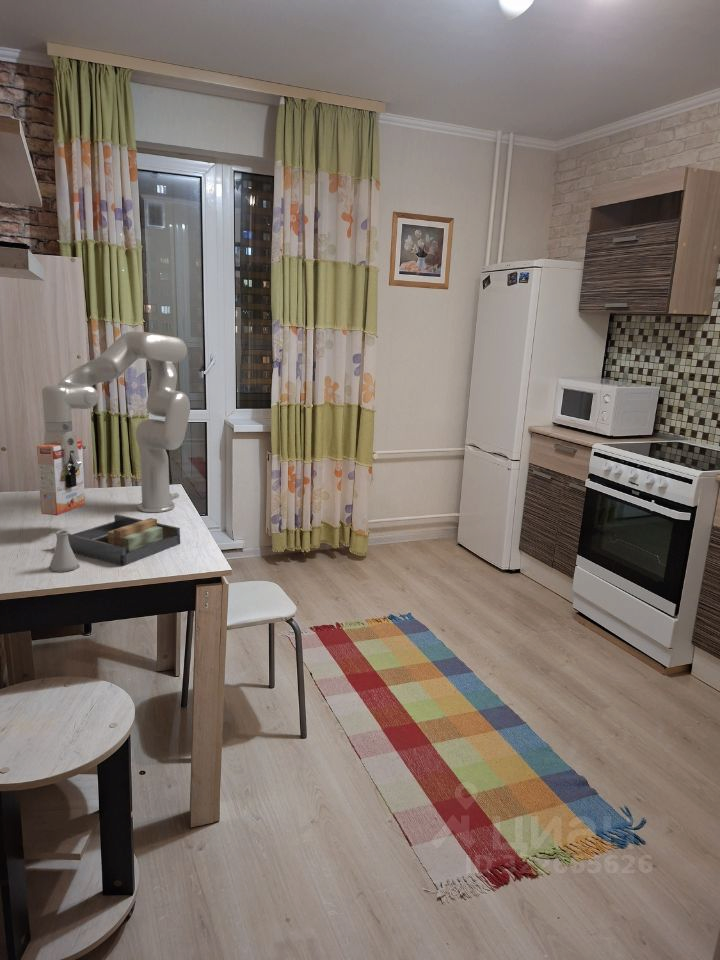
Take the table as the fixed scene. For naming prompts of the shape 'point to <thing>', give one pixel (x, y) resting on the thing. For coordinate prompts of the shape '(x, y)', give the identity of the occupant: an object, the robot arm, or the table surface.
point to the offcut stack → (136, 534)
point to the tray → (114, 553)
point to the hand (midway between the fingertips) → (62, 484)
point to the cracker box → (58, 480)
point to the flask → (63, 554)
